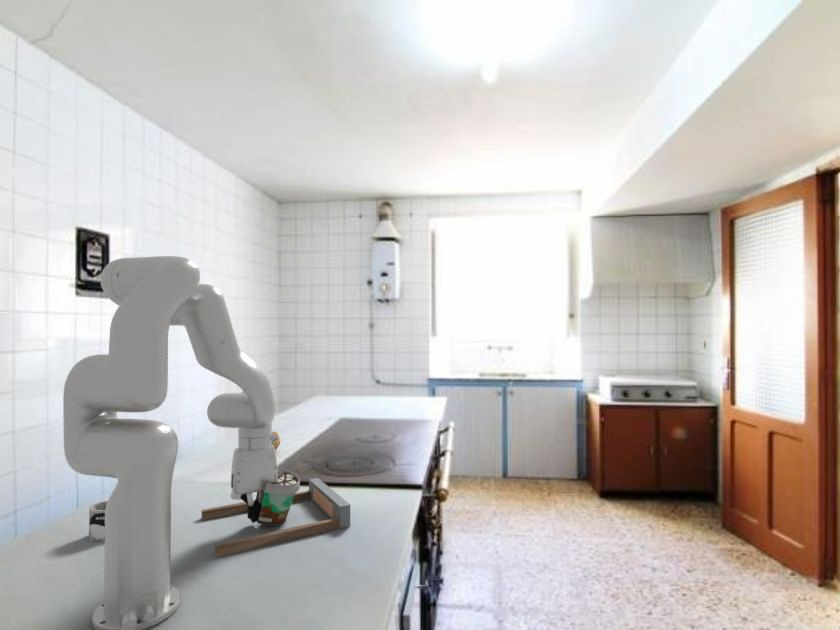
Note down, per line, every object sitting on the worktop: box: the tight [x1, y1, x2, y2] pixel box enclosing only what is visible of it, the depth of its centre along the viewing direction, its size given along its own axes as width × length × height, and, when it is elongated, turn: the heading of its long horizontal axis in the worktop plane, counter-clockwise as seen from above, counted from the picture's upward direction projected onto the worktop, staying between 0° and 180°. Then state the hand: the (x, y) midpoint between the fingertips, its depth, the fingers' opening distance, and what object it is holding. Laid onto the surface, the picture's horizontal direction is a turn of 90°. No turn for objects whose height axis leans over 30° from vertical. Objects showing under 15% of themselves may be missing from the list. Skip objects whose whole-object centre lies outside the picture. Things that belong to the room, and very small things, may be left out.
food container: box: [257, 468, 301, 526], centre depth 117 cm, size 12×6×10 cm, turn 175°
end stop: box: [308, 477, 351, 529], centre depth 124 cm, size 23×3×5 cm, turn 31°
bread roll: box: [272, 430, 281, 452], centre depth 178 cm, size 10×15×8 cm, turn 8°
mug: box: [88, 500, 108, 542], centre depth 110 cm, size 10×7×7 cm
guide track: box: [201, 489, 341, 558], centre depth 116 cm, size 23×27×2 cm
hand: (254, 520), depth 114 cm, fingers closed
